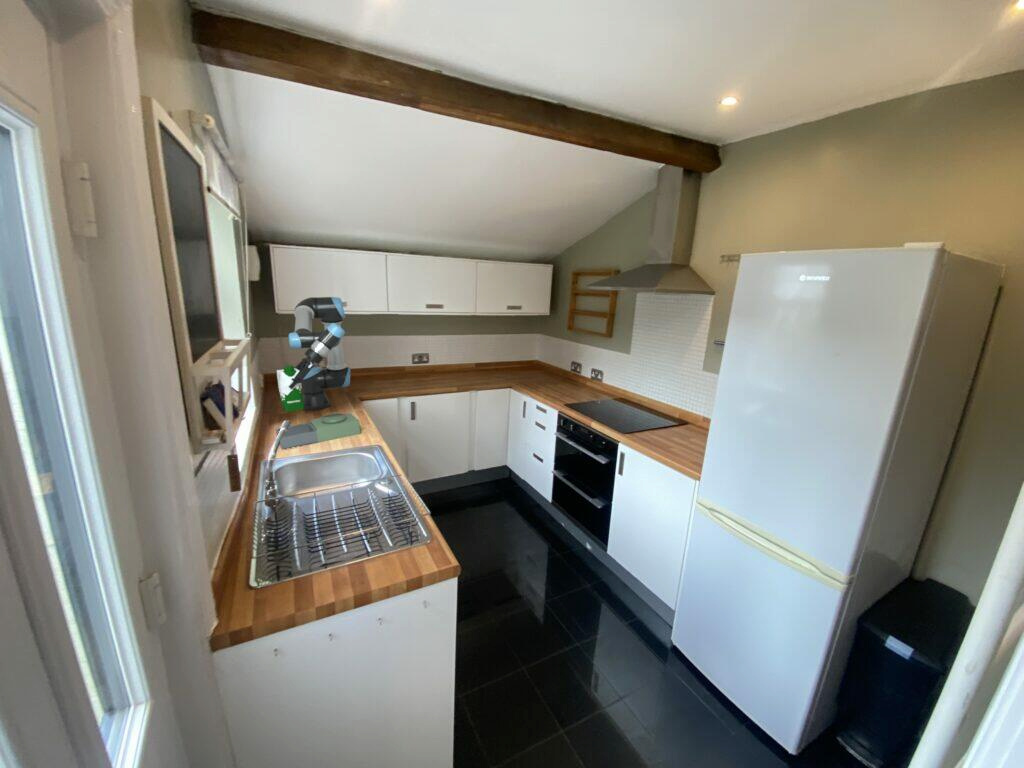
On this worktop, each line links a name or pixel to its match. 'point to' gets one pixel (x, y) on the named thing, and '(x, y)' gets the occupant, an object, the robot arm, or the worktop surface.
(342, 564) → the worktop surface
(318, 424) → the side socket deck
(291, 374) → the soya milk
